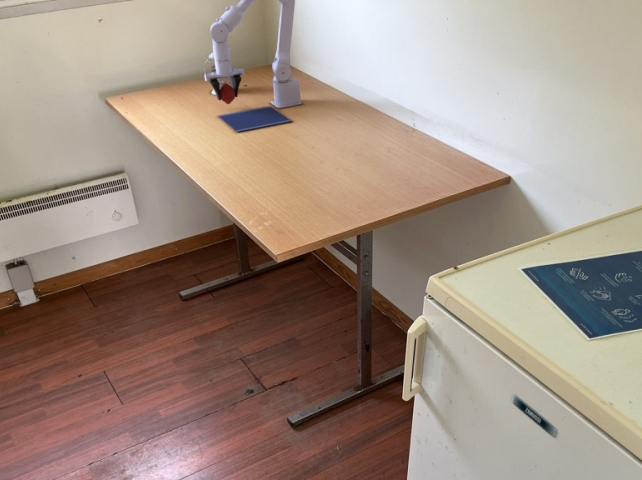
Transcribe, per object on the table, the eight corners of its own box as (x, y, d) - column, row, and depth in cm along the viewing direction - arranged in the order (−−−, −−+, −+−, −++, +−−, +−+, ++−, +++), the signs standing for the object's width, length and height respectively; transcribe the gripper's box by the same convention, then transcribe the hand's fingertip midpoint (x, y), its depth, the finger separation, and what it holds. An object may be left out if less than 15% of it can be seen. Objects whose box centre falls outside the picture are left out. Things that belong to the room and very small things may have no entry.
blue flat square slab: (269, 107, 247) (269, 105, 247) (291, 122, 232) (291, 120, 232) (218, 116, 240) (218, 115, 240) (238, 132, 225) (237, 131, 225)
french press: (234, 94, 261) (225, 26, 246) (204, 95, 261) (194, 27, 246) (237, 87, 268) (229, 20, 254) (209, 88, 269) (199, 21, 254)
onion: (237, 101, 247) (235, 79, 242) (234, 106, 243) (231, 84, 238) (222, 101, 248) (219, 79, 243) (218, 106, 243) (215, 84, 238)
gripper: (237, 54, 241) (242, 92, 249) (199, 60, 236) (205, 98, 244) (244, 58, 236) (249, 96, 244) (205, 64, 231) (211, 103, 239)
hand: (227, 98), depth 244 cm, fingers closed on onion, 6 cm apart
